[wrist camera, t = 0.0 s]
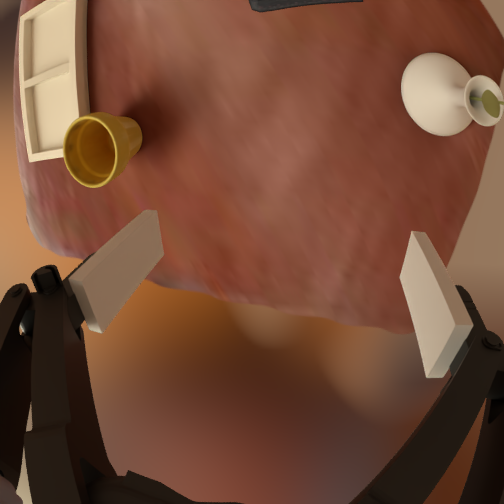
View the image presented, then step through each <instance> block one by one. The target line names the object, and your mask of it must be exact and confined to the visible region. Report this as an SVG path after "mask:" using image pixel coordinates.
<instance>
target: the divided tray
mask: <svg viewBox="0 0 504 504" xmlns="http://www.w3.org/2000/svg"><path fill="white" fill-rule="evenodd" d="M87 3H88V0H46V1H44V2H43V3H41V4H39V5H38V6H36V7H35V8H33V9H31V10H30V11H28V12H27V13H25V14H24V15H22V16H21V17H20V32H19V76H20V94H21V106H22V116H23V124H24V132H25V139H26V145H27V151H28V157H29V162H34V161H40V160H46V159H52V158H59V157H64V156H63V141H64V137H65V134H66V131H67V129H68V128H69V126H70V125H71V123H72V122H73V121H75V120H76V119H77V118H79V117H81V116H84V115H87V114H90V103H89V90H88V73H87Z"/></svg>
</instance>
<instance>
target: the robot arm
mask: <svg viewBox="0 0 504 504" xmlns="http://www.w3.org/2000/svg"><path fill="white" fill-rule="evenodd" d="M163 255H164V251H163V246H162V240H161V234H160V228H159V222H158V215H157V210H144V211H143V212H142V213H140V214H139V215H138V216H137V217H136V218H134V219H133V220H132V221H131V222H130V223H129V224H127V225H126V226H125V227H124V228H123V229H122V230H120V231H119V232H118V233H117V234H116V235H115V236H114V237H112V238H111V239H110V240H109V241H108V242H107V243H106V244H105V245H104V246H102V247H101V248H100V249H99V250H98V251H96V252H95V253H93V254H91V255H89V256H88V257H87V258H86V259H85V260H84V261H83V263H81V264H80V265H79V266H78V268H75V269H74V270H73V271H72V272H71V273H70V274H69V275H68V276H67V277H66V278H65V279H64V280H63V281H62V280H61V277H60V274H59V272H58V269H57V267H56V266H55V265H46V266H43V267H41V268H39V269H37V270H36V271H35V272H34V273H33V274H32V276H31V279H32V281H33V283H34V286H35V288H36V291H37V292H33V293H32V292H31V293H30V291H29V289H28V286H27V285H26V284H24V283H23V284H22V283H20V284H16V285H15V286H12V287H11V288H10V289H9V290H8V291H7V293H6V294H5V296H4V298H3V300H2V302H1V303H0V504H23V501H22V499H21V498H20V497H19V496H18V495H16V490H17V486H18V482H19V478H20V473H21V465H22V457H23V448H24V449H25V459H26V467H27V474H28V481H29V487H30V493H31V498H32V503H33V504H242V503H236V502H226V503H225V502H223V503H220V502H219V503H218V502H195V501H192V500H190V499H188V498H186V497H184V496H183V495H181V494H179V493H177V492H175V491H174V490H172V489H171V488H169V487H167V486H166V485H164V484H162V483H161V482H158V481H155V480H153V479H150V478H147V477H144V476H142V475H139V474H136V473H134V472H131V471H129V470H128V472H127V474H126V476H117V474H116V472H115V470H114V468H113V467H112V465H111V463H110V462H109V460H108V457H107V454H106V450H105V447H104V443H103V439H102V435H101V432H100V427H99V423H98V418H97V414H96V409H95V405H94V400H93V394H92V389H91V383H90V377H89V371H88V365H87V358H86V351H85V343H84V333H83V329H82V327H81V324H82V323H83V321H84V320H85V321H86V323H87V325H88V328H89V330H92V331H95V332H99V333H103V332H104V331H105V329H106V328H107V327H108V325H109V324H110V323H111V321H112V320H113V318H114V317H115V316H116V315H117V313H118V312H119V311H120V309H121V308H122V307H123V305H124V304H125V303H126V302H127V300H128V299H129V298H130V296H131V295H132V294H133V293H134V291H135V290H136V289H137V287H138V286H139V285H140V284H141V282H142V281H143V280H144V279H145V277H146V276H147V275H148V274H149V272H150V271H151V270H152V269H153V267H154V266H155V265H156V264H157V263H158V261H159V260H160V259H161V258H162V256H163ZM400 280H401V283H402V286H403V290H404V293H405V296H406V299H407V303H408V306H409V310H410V313H411V317H412V320H413V324H414V328H415V332H416V335H417V339H418V343H419V347H420V352H421V356H422V360H423V364H424V369H425V374H426V378H438V377H439V378H441V377H443V376H444V375H445V373H446V372H447V370H448V369H449V367H450V371H451V374H452V376H451V378H450V379H449V381H448V382H447V383H446V385H445V386H444V388H443V389H442V391H441V392H440V395H439V396H438V398H437V399H436V401H435V402H434V404H433V405H432V407H431V408H430V410H429V411H428V412H427V414H426V415H425V417H424V418H423V420H422V421H421V422H420V424H419V425H418V426H417V428H416V429H415V430H414V432H413V433H412V434H411V436H410V437H409V438H408V440H407V441H406V442H405V443H404V445H403V446H402V447H401V448H400V449H399V451H398V452H397V453H396V454H395V455H394V456H393V458H392V459H391V460H390V461H389V462H388V463H387V465H386V466H385V467H384V468H383V469H382V470H381V471H380V472H379V474H378V475H377V476H376V477H375V478H374V479H373V480H372V481H371V482H370V483H369V484H368V485H367V486H366V487H365V488H364V489H363V490H362V491H361V492H360V493H359V494H358V495H357V496H356V497H355V498H354V499H353V500H352V501H351V502H350V503H349V504H423V503H424V501H425V500H426V499H427V497H428V496H429V495H430V493H431V492H432V490H433V489H434V488H435V486H436V485H437V483H438V482H439V480H440V479H441V477H442V476H443V474H444V473H445V471H446V470H447V468H448V467H449V465H450V463H451V462H452V460H453V459H454V457H455V456H456V454H457V452H458V450H459V449H460V447H461V445H462V444H463V442H464V440H465V438H466V436H467V435H468V433H469V431H470V429H471V427H472V425H473V423H474V421H475V419H476V417H477V415H478V413H479V411H480V409H481V407H482V405H483V403H484V400H485V398H487V399H486V405H485V411H484V417H483V421H482V426H481V430H480V435H479V439H478V443H477V447H476V451H475V454H474V458H473V461H472V465H471V468H470V471H469V474H468V477H467V481H466V483H465V486H464V489H463V492H462V495H461V498H460V500H459V503H458V504H504V344H503V341H502V340H501V339H500V337H499V336H498V335H496V334H495V333H493V332H491V331H488V330H487V329H486V327H485V325H484V323H483V321H482V319H481V316H480V314H479V313H478V310H476V306H475V304H474V303H473V301H472V298H471V296H470V295H469V293H468V292H467V291H466V290H465V289H464V288H463V287H462V286H459V285H458V286H457V285H454V283H453V281H452V279H451V278H450V275H449V273H448V272H447V270H446V268H445V266H444V264H443V262H442V260H441V259H440V257H439V255H438V253H437V252H436V250H435V248H434V246H433V245H432V243H431V241H430V240H429V238H428V236H427V235H426V233H425V232H417V231H412V232H411V236H410V240H409V244H408V248H407V252H406V256H405V260H404V264H403V267H402V271H401V274H400ZM19 326H20V327H21V329H22V330H23V332H22V334H21V335H20V332H19ZM30 404H31V405H32V423H33V424H32V425H33V426H32V427H33V428H32V430H31V431H27V432H26V426H27V420H28V415H29V409H30Z"/></svg>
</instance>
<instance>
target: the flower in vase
mask: <svg viewBox="0 0 504 504" xmlns="http://www.w3.org/2000/svg"><path fill="white" fill-rule="evenodd" d="M401 92H402V98H403V102H404V105H405V107H406V109H407V112H408V113H409V115H410V116H411V118H412V119H413V120H414V121H415V122H416V123H417V124H418V125H419V126H420V127H421V128H422V129H424V130H426V131H427V132H429V133H431V134H434V135H439V136H451V135H455V134H457V133H459V132H461V131H462V130H464V129H465V128H466V127H467V126H468V125H469V124H470V123H471V121H472V120H473V119H474V120H475V121H476V122H477V123H479V124H481V125H483V126H492V125H495V124H496V123H497V122H499V120H500V119H501V117H502V115H503V112H504V98H503V95H502V92H501V90H500V88H499V86H498V85H497V84H496V83H495V82H494V81H493V80H492V79H490V78H489V77H486V76H482V75H478V76H475V77H473V78H471V77H470V75H469V74H468V72H467V71H466V70H465V69H464V68H463V66H461V65H460V64H459V63H458V62H457V61H455V60H454V59H452V58H451V57H449V56H446V55H444V54H440V53H425V54H422V55H419V56H417V57H416V58H414V59H413V60H412V61H411V62H410V63H409V64H408V66H407V67H406V69H405V71H404V73H403V77H402V82H401Z"/></svg>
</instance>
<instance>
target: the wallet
mask: <svg viewBox="0 0 504 504" xmlns="http://www.w3.org/2000/svg"><path fill="white" fill-rule="evenodd" d="M345 2H363V0H249V3H250V5H251V8H252V10H254V11H258V12H266V11H274V10H280V9H285V8H292V7H298V6H306V5H315V4H329V3H345Z"/></svg>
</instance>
